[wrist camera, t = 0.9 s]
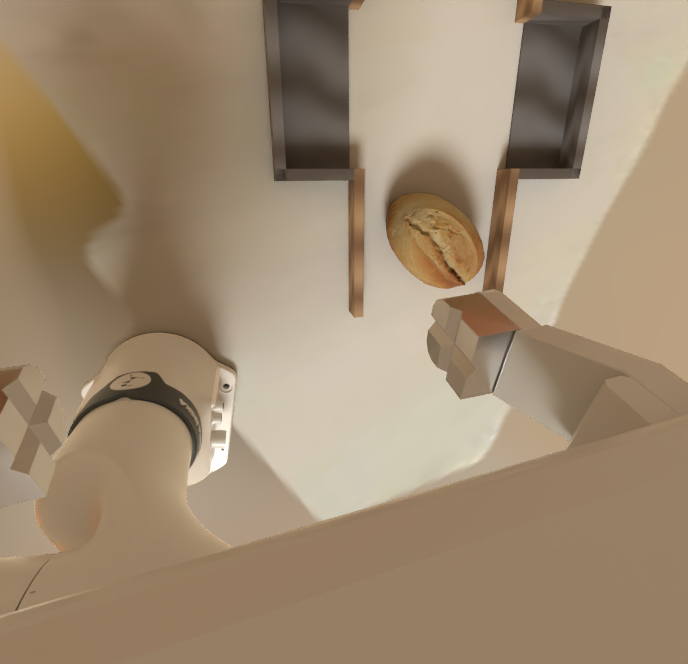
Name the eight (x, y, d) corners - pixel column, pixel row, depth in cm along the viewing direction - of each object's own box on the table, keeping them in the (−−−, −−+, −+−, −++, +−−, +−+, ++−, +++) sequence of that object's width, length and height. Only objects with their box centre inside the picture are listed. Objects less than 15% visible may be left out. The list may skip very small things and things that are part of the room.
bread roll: (440, 299, 57) (468, 316, 50) (362, 237, 51) (381, 245, 44) (483, 245, 55) (519, 254, 48) (408, 174, 50) (435, 172, 42)
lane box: (541, 296, 60) (565, 305, 56) (283, 315, 52) (286, 328, 48) (612, -108, 44) (654, -142, 39) (251, -169, 36) (251, -220, 31)
